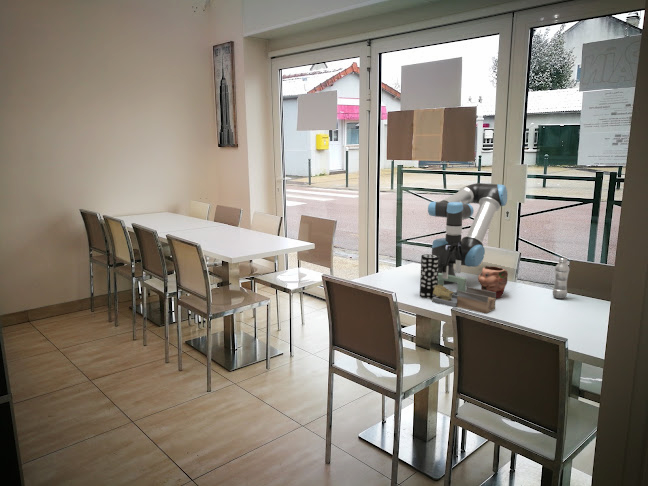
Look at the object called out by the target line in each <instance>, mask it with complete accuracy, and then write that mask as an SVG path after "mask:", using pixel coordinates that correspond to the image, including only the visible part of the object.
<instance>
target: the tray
mask: <svg viewBox="0 0 648 486" xmlns="http://www.w3.org/2000/svg"><path fill="white" fill-rule="evenodd" d="M431 301H432V303H435V304H440V305H443V306H449V307H452V308H458V307H457V294H455V293H453V295H452V298H451V300H449V301H447V300H443V299H441V298H440V297H438V296H435V297H433V298H432V299H431Z"/></svg>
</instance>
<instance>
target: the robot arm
mask: <svg viewBox="0 0 648 486" xmlns="http://www.w3.org/2000/svg"><path fill="white" fill-rule="evenodd" d="M507 202H508V189H507V187H506V185H504V184H499V183H497V184H495V183H483V182H481V183H480V182H476V183H473V184H469V185H466V186H462V187H461V188H460V189H459V190H458V192H455V193H454V194H452V195H450V196H448V197H446V198H444V199H442V200H440V201H430V202H429V204H428V206H427V212H428V213H427V214H428V215H429V216H430V217H435V218H445V219H446V224H445V237H442V238H435V239H434V240H433V241H432V244H431V246H432V247H431V254H432V255H437V256H439V267H438V273H442V278H444V279H448V275H453V276H456V274H461V272H462V266H465V267H469V268H470V267H472V268H474V267H475V268H476V267H478V266H480V264H481V263H483V260H484V258H485V255H486V254H485V252H486V251H485V246H484V244H483V241H484V238H485V237H486V234H487V232H488V229H489V227H490V224H491V222H492V220H493V217H494V215H495V213H496V212H498V211H499V210H500V208H501V207H505V206H506V204H507ZM471 204H478V205H479V207H478V209H477V212H476V213H475V212H474V207H473V205H471ZM474 213H475V216H474V217H473V218H474V219H473V221H472V223H471V224H470V227H469V230H468V232H467V234H466V236H463V237H462V233H463V231H462V230H463V220H467V219H469V218H471V217H472V216H473V215H474ZM454 265H455V266H454ZM454 267H455V268H454ZM450 284H451V285H452V284H455V282H450V281H445V280H444V285H450Z"/></svg>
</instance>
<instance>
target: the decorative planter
mask: <svg viewBox="0 0 648 486" xmlns="http://www.w3.org/2000/svg"><path fill="white" fill-rule="evenodd" d="M508 273H509V272H508V271H507V270H506V269H505V268H502V267H498V266H490V265H489V266H488V265H485V266H484V267H482V271H481V272H480V274H478V276H477V281H478V283H479V284H480V289H481V290H486V291H491V292H496V299H500V298H502V297H503V295H504V291H505V288H506V286H507V284H508Z"/></svg>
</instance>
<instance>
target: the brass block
mask: <svg viewBox="0 0 648 486" xmlns="http://www.w3.org/2000/svg"><path fill="white" fill-rule="evenodd" d="M453 294H454V291H452V290H450V289H448V288H446V289H444V290H442V292H441V296H440V298H441V299H443V300H447V301H449V300H451V298H452V295H453Z"/></svg>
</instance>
